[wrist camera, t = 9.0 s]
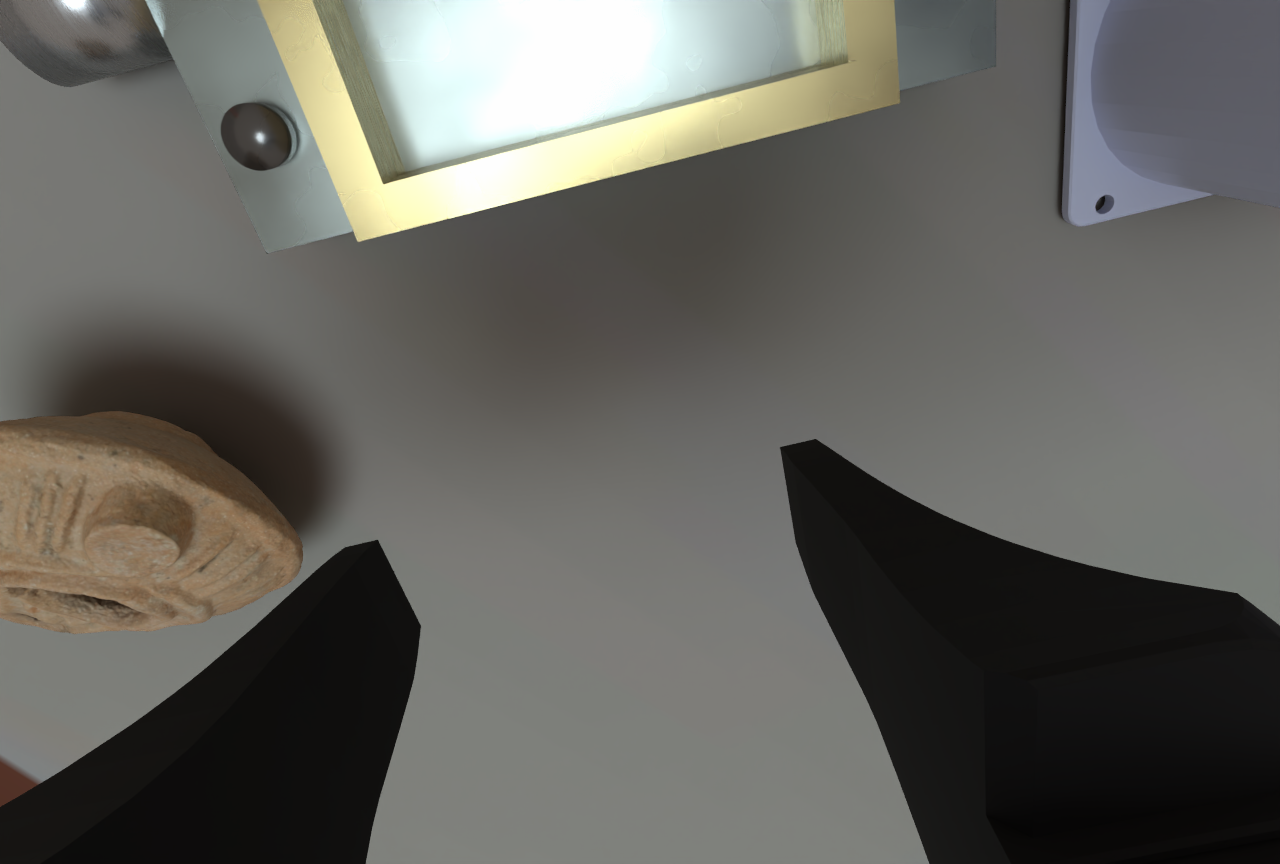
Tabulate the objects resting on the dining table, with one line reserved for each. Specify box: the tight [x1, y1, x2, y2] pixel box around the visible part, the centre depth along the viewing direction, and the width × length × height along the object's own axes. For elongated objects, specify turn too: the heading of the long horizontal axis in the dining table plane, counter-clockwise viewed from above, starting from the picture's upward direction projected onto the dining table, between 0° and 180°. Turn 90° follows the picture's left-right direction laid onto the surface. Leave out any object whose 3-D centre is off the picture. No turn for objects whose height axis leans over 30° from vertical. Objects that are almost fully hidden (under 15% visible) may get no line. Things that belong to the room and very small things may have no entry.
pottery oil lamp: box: [0, 411, 303, 634], centre depth 20 cm, size 9×12×7 cm
